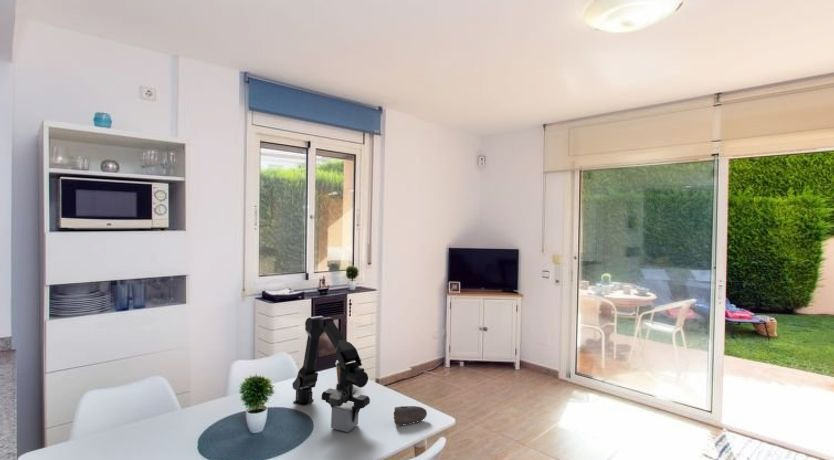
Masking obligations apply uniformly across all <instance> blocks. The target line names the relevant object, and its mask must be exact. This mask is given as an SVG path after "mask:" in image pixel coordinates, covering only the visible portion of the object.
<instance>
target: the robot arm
mask: <svg viewBox="0 0 834 460" xmlns="http://www.w3.org/2000/svg"><path fill="white" fill-rule="evenodd" d="M334 321H335V320H334V318H333V317H330V316H328V317H327V316H326V317H324V316H323V315H319V316H318V315H317V316H311V317H308V318H306V320H305V323H304V324H305V325H304V328H305V333H306V334H307V339H306V346H305V352H304V358H303V364H302V365H303V366H301V368H300V369H299V370H298V371H297V375H296V378H295V380H293V382H292V389H293V390H295V400H294V401H293V404H297V405H301V406H307V405H308V404H310V403H312V402H314V398H313V388H315V387H316V384H317V382H318V376H319V372H318V371H317V370H316V368H315V367H316V366H315V365H316V361H317V356H318V355H317V354H318V348H319V341H320V337H322V335H323V334H324V333H325V334H326V336H327V337H328V340H329V341H330V342H331V344H332V346H333V347H334V356H335V357H336V361H337V360H338V362H339V363H338V364H337V366H338V367H339V383H338V382H337V383H336V388H331V387H329V388H328V389H326V390H324V391H323V392H322V393H321V400H322V401H325V403H328V405H330V407H331V409H332V407H333V406H335V405H336V406H341V405H342V404H343V403H347V402H351V403H354V406H352V409H353V416H352V422H355V420H356V417H357V415H358V416H359V413H360V410H361V409H364V408H366V407H367V406H368V405H369V404H370V402H371V399H370V397H369V396H368V395H365V394H360V395H358V396H354V395H355V393H356V391H354V386H356V387H358V388H360V389H361V388H364V387H365V386H366V385H367V384H368V381H369V376H368V373H367V372H366V371H365V368H364V367H362V366H363V363H362V359H361V358H360V355H359V353H358V350H357V348H356V347H355V346H354V345H353V344H352V343H351V342H349V341H347V340H346V339H345V338H344V336H343V334H342V332H341V331H340V329H339V328H338V327H337V325H336V323H335V322H334ZM353 361H354V362H353ZM349 362H353V363H349ZM348 363H349V364H348Z"/></svg>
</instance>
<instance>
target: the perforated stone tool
mask: <svg viewBox="0 0 834 460" xmlns="http://www.w3.org/2000/svg"><path fill="white" fill-rule="evenodd" d="M427 414H428V412H427V410H426V409H425V408H423V407H421V406H417V405H416V406H415V405H405V406H402V405H401V406H395V407H394V410H393V419H394V421H393V422H394V424H395V425H396V426H404V425H403V424H407V425H410V424H409V423H413V422H417V421H420V422H422V421H423V419H424V420H425V418H426V417H427ZM421 420H422V421H421ZM417 423H418V422H417ZM413 424H414V423H413Z"/></svg>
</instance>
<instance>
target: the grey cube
mask: <svg viewBox="0 0 834 460" xmlns="http://www.w3.org/2000/svg"><path fill="white" fill-rule="evenodd" d="M352 406H354V402H350V401H348V402H347V403H343V404H342V405H341V406H336V405H335V406H333V407H332V408H331V417H330V428H331V429H334V430H337V431H342V432H345V433H349V432H350V431H351V430H353V429H354V428H355V427H356V426H358V425H359V414H358V415H357V417H356V420H355V422H352V416H353V409H352Z"/></svg>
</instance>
